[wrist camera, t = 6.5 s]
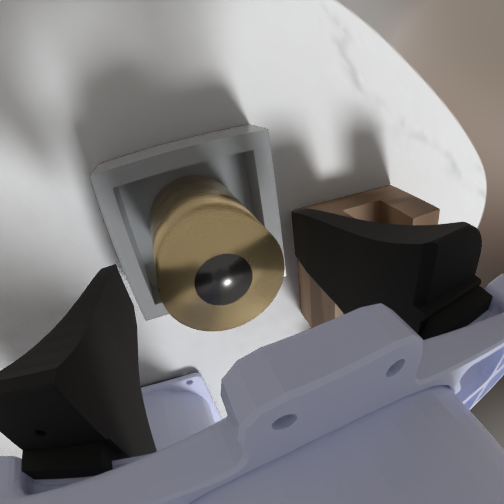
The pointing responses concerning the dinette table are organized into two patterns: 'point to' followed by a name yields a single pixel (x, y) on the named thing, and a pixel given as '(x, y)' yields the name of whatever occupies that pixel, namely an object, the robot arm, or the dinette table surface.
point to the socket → (167, 170)
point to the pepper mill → (212, 255)
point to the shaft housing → (369, 209)
